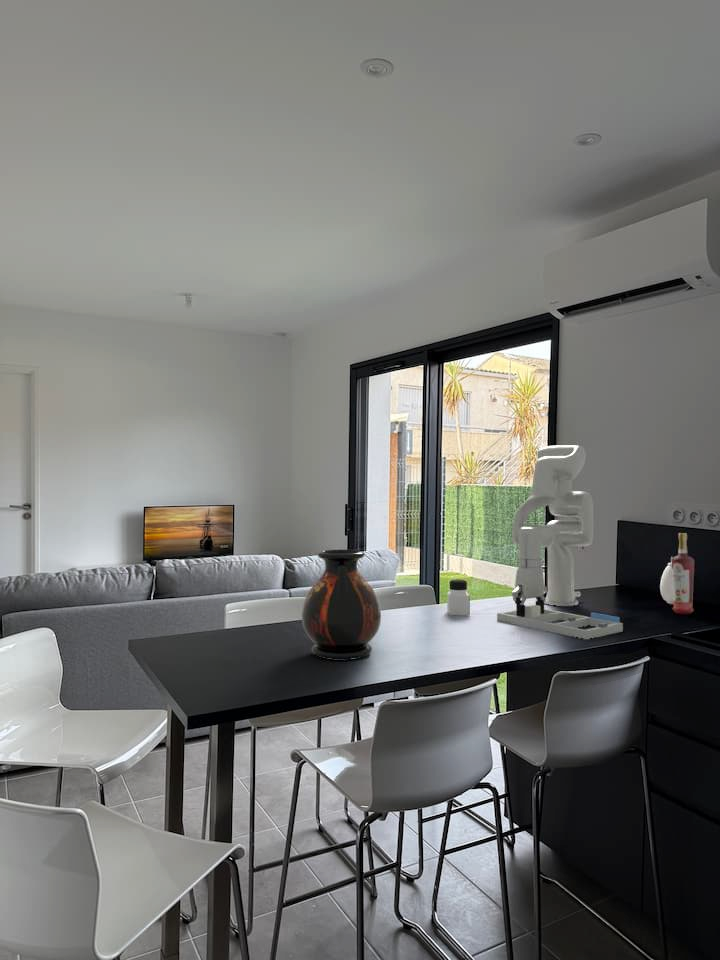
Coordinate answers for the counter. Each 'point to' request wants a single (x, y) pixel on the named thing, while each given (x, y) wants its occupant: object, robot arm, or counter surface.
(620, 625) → the compartment tray
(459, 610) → the medicine bottle
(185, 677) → the counter surface
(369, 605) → the black and orange vase
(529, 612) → the cream matte cube
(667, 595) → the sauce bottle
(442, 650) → the counter surface
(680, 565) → the liquor
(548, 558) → the robot arm
